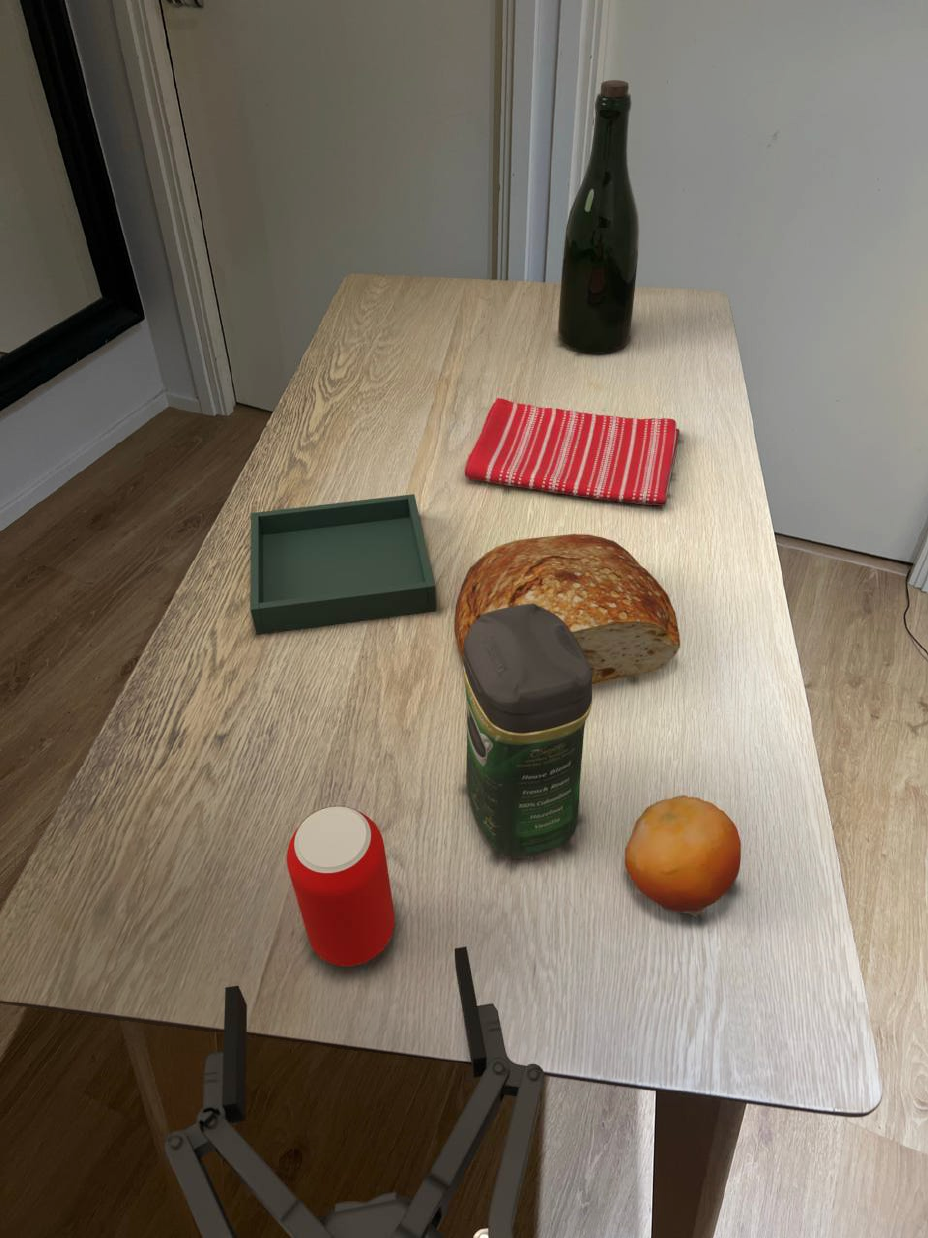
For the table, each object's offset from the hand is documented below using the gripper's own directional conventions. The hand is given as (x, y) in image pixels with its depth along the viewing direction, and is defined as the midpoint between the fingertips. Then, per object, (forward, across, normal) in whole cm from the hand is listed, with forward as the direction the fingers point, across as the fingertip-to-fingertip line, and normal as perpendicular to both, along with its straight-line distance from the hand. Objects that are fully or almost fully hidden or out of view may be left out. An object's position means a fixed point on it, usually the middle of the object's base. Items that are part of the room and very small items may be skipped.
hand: (350, 976), depth 54 cm
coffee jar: (+15, +14, -7) cm, 21 cm away
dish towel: (+63, +31, -7) cm, 70 cm away
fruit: (+7, +24, -7) cm, 26 cm away
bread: (+34, +22, -7) cm, 41 cm away
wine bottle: (+93, +42, -7) cm, 102 cm away
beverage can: (+7, 0, -7) cm, 10 cm away
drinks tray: (+47, +2, -7) cm, 47 cm away
